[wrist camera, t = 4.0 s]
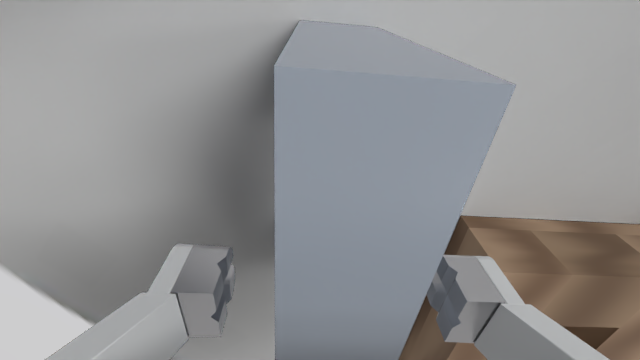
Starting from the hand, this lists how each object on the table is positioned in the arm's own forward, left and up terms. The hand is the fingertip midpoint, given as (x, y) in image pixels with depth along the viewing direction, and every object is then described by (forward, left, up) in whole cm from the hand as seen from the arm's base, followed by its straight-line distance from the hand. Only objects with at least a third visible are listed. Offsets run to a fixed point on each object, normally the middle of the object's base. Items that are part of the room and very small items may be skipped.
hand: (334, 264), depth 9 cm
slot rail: (-14, +14, -7) cm, 21 cm away
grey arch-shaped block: (0, 0, -7) cm, 7 cm away
